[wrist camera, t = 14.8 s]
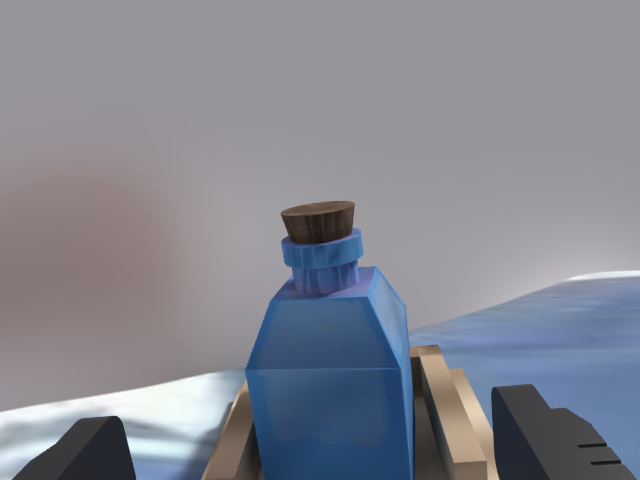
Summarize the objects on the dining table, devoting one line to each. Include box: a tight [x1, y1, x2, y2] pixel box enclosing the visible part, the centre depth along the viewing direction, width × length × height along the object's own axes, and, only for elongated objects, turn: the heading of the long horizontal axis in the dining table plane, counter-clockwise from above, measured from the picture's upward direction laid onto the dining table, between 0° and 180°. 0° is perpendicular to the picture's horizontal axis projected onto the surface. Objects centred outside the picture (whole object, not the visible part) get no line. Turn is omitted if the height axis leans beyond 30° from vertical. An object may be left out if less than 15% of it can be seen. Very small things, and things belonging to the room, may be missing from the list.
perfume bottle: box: [245, 201, 415, 480], centre depth 21 cm, size 6×6×12 cm
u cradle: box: [201, 345, 499, 480], centre depth 22 cm, size 14×14×3 cm
